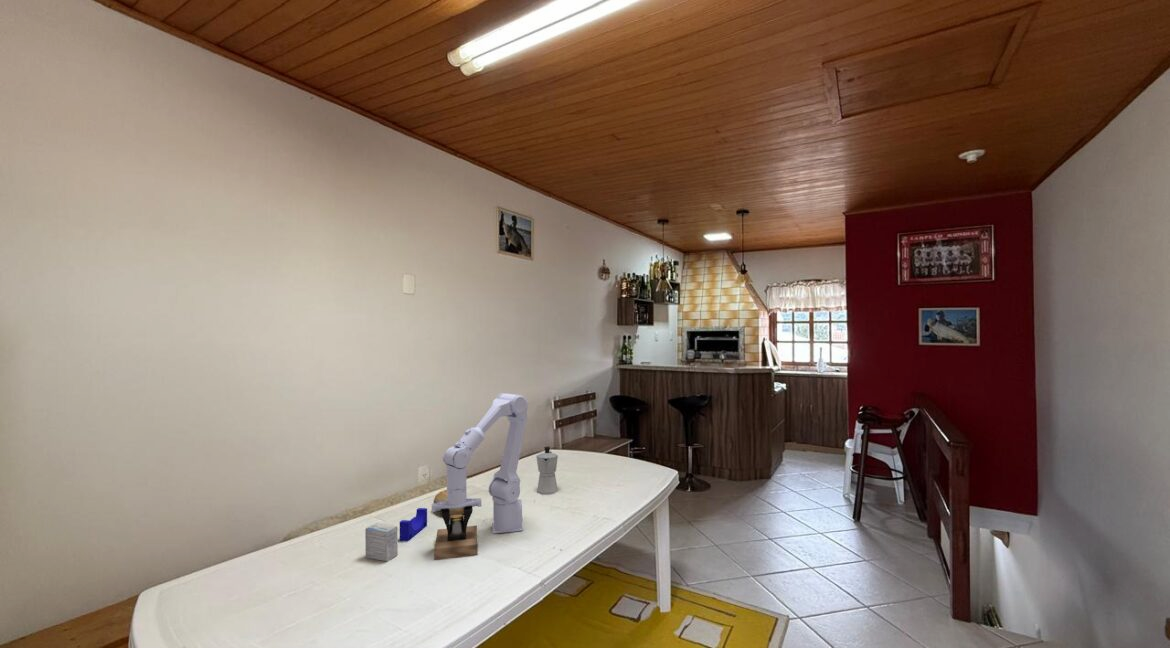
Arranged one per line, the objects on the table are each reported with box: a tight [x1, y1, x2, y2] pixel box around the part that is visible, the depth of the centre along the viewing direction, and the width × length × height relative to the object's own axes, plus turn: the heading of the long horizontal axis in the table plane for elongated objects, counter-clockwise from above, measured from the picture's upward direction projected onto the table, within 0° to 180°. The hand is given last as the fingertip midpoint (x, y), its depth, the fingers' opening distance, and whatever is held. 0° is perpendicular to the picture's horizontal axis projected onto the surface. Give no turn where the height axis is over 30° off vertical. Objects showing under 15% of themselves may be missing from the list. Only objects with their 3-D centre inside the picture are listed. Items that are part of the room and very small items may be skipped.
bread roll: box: [432, 489, 464, 517], centre depth 170 cm, size 10×15×8 cm, turn 49°
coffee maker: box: [536, 445, 559, 495], centre depth 193 cm, size 15×9×18 cm, turn 179°
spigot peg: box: [450, 514, 464, 541], centre depth 142 cm, size 4×4×8 cm
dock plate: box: [433, 525, 479, 561], centre depth 142 cm, size 12×14×3 cm
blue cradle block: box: [399, 507, 428, 542], centre depth 152 cm, size 12×4×6 cm, turn 171°
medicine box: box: [364, 522, 399, 562], centre depth 136 cm, size 8×4×9 cm, turn 71°
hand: (456, 532), depth 142 cm, fingers closed on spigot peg, 4 cm apart
